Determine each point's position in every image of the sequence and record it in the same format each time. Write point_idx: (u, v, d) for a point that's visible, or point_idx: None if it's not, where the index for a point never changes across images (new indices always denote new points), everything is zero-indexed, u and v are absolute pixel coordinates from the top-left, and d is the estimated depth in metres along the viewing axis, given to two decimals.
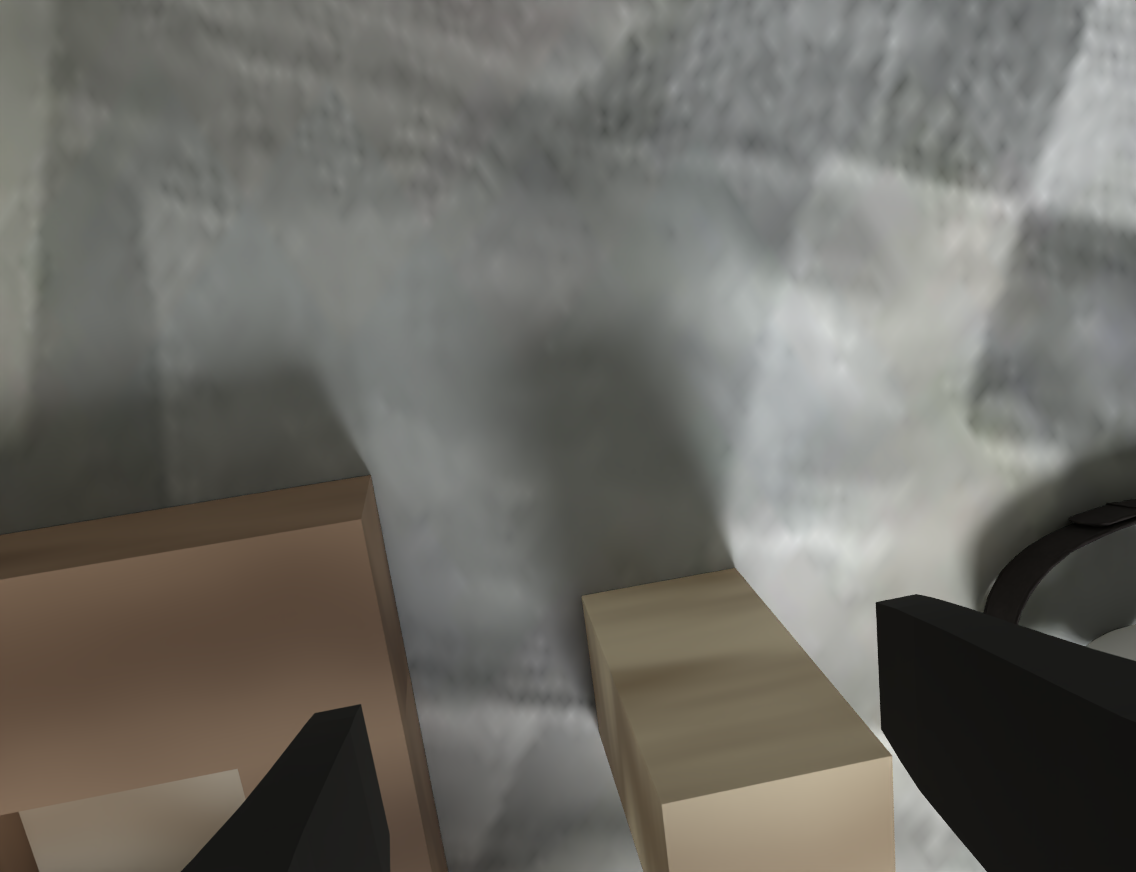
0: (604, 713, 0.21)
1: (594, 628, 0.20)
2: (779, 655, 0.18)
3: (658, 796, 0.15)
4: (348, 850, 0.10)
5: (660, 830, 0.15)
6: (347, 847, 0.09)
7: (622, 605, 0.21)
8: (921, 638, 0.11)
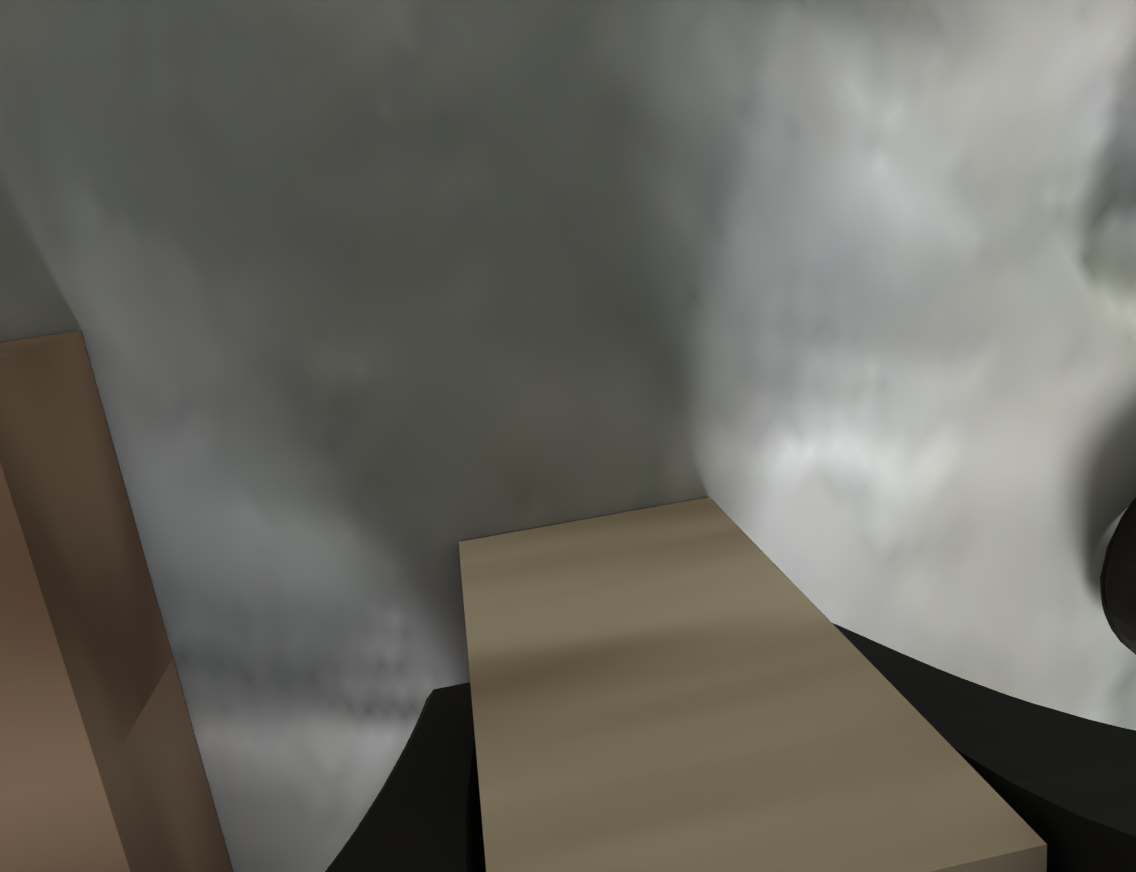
0: None
1: (463, 589, 0.12)
2: (781, 627, 0.10)
3: None
4: None
5: None
6: None
7: (519, 554, 0.13)
8: None
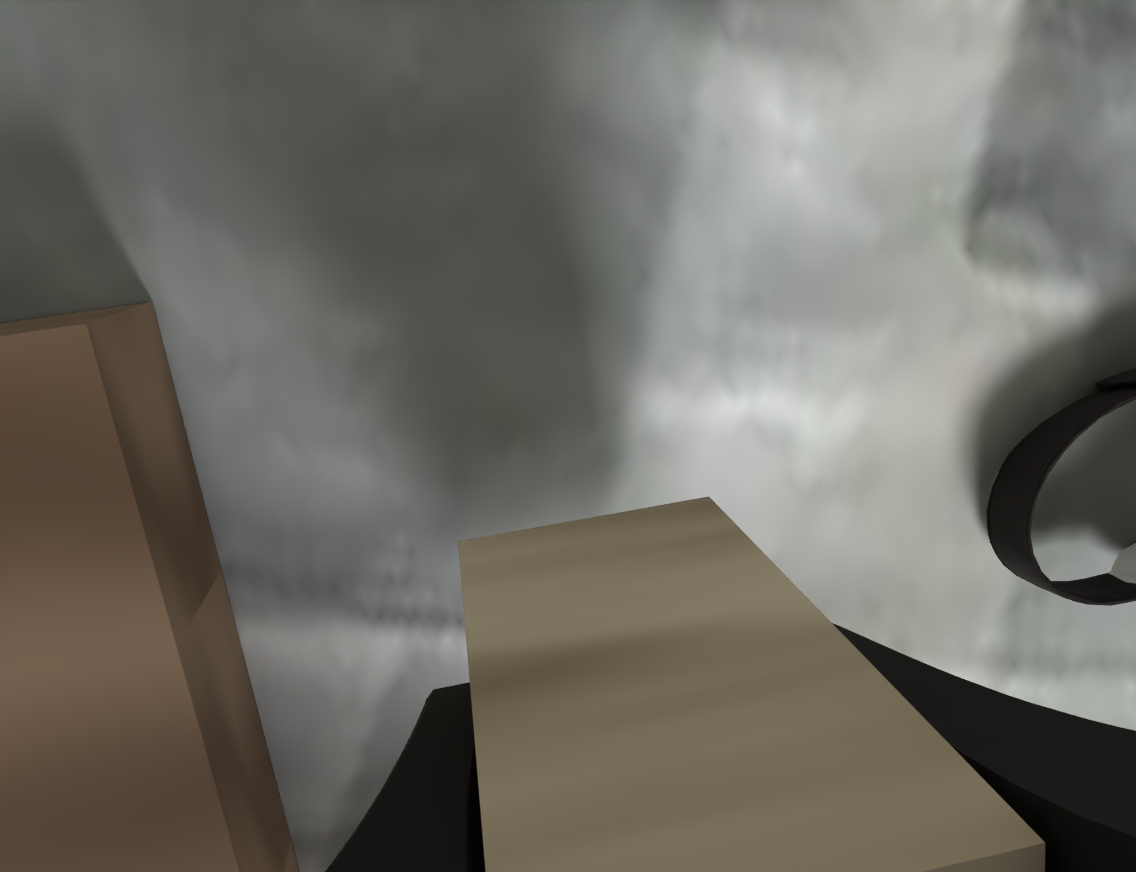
0: None
1: (463, 589, 0.12)
2: (780, 627, 0.10)
3: None
4: None
5: None
6: None
7: (519, 554, 0.13)
8: None
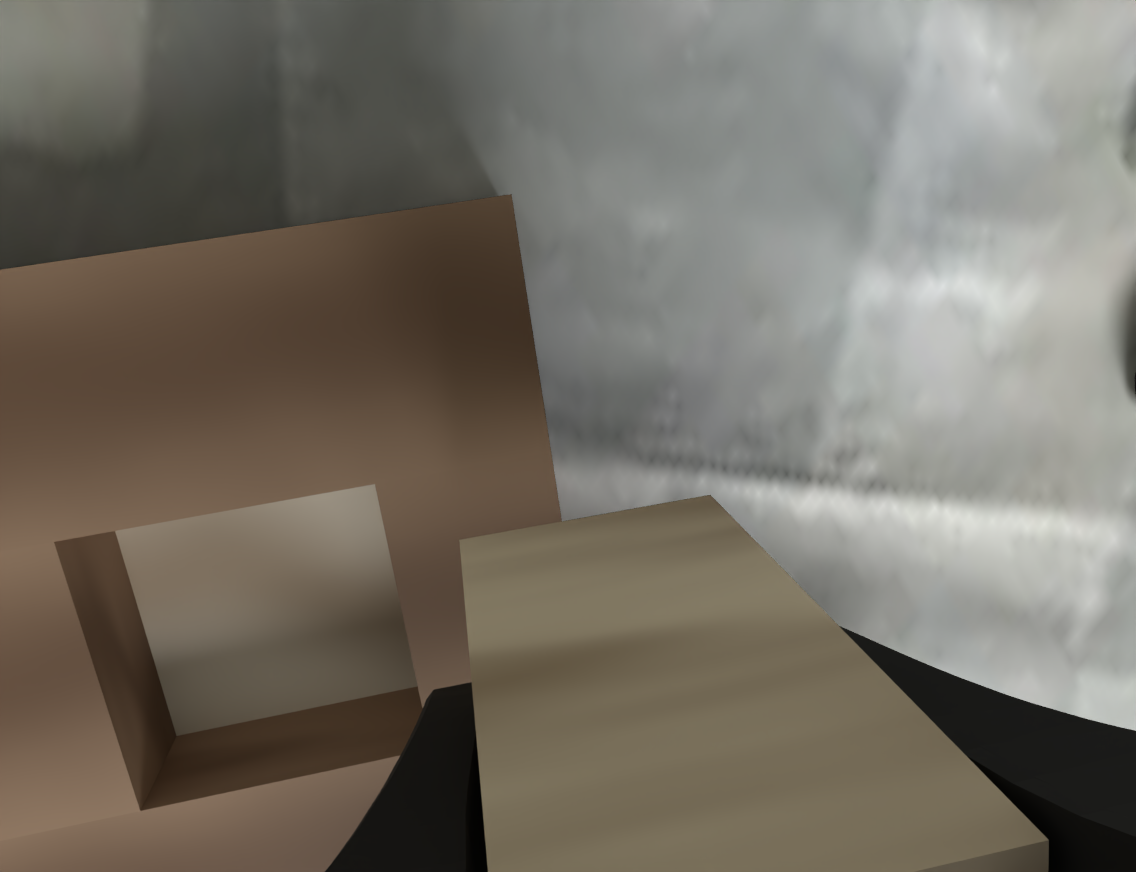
0: None
1: (464, 587, 0.12)
2: (782, 625, 0.10)
3: None
4: None
5: None
6: None
7: (520, 553, 0.13)
8: None
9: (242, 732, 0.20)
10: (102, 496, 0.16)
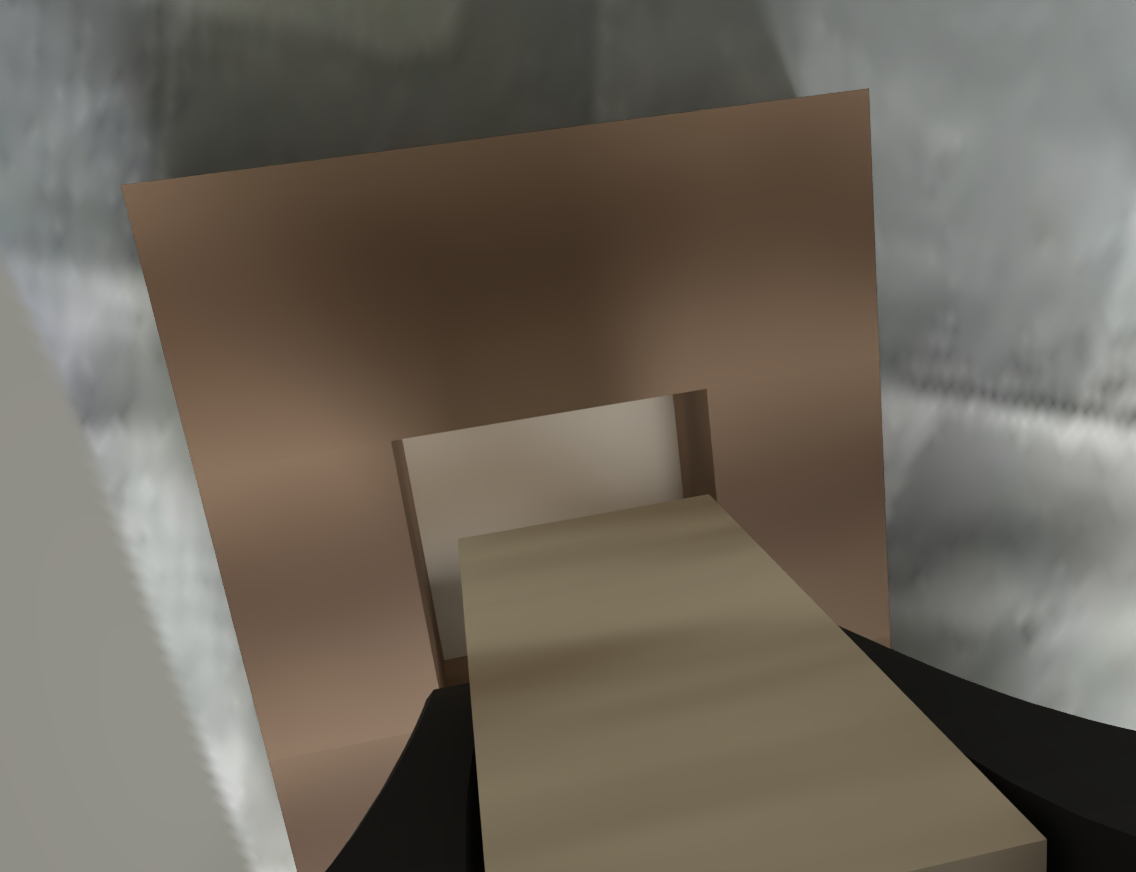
0: None
1: (463, 586, 0.12)
2: (780, 624, 0.10)
3: None
4: None
5: None
6: None
7: (518, 551, 0.13)
8: None
9: None
10: (442, 394, 0.16)
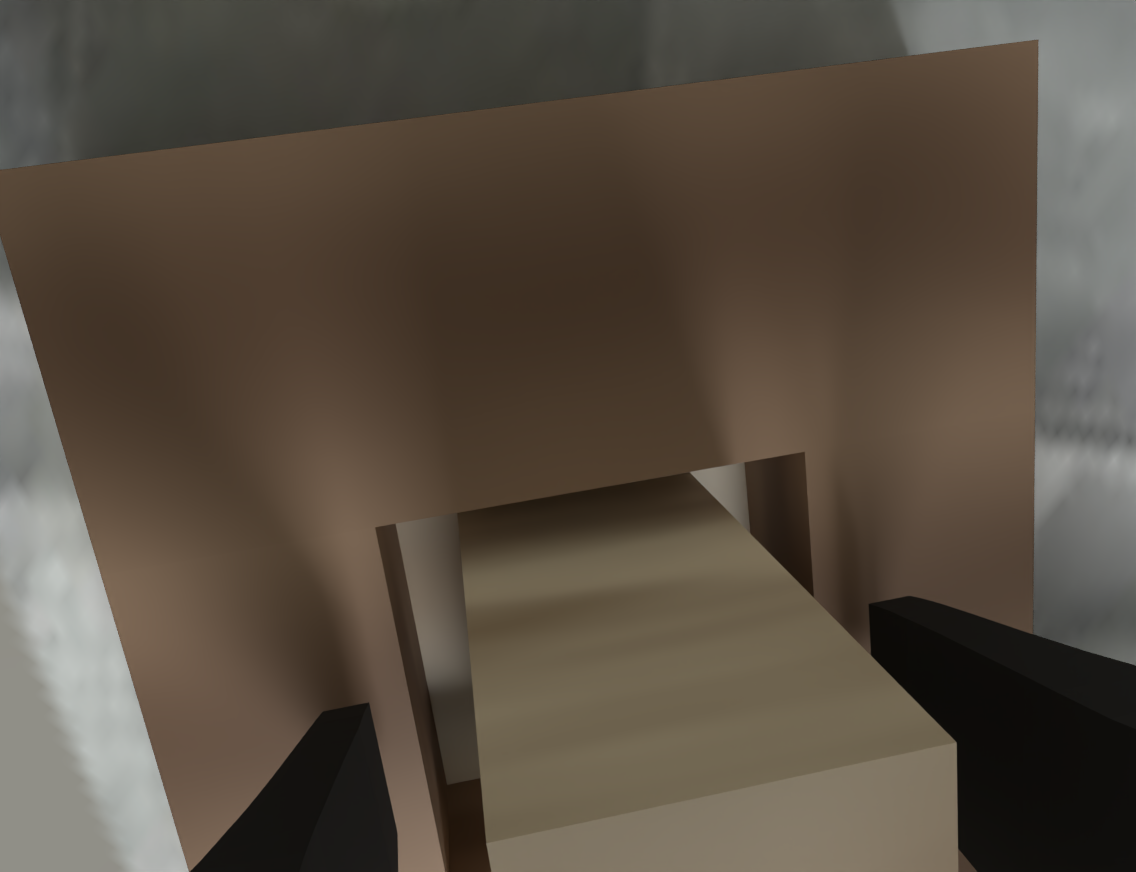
0: None
1: (461, 552, 0.13)
2: (746, 580, 0.11)
3: None
4: (357, 848, 0.10)
5: None
6: (356, 845, 0.10)
7: (512, 522, 0.14)
8: (913, 640, 0.11)
9: None
10: (445, 463, 0.12)
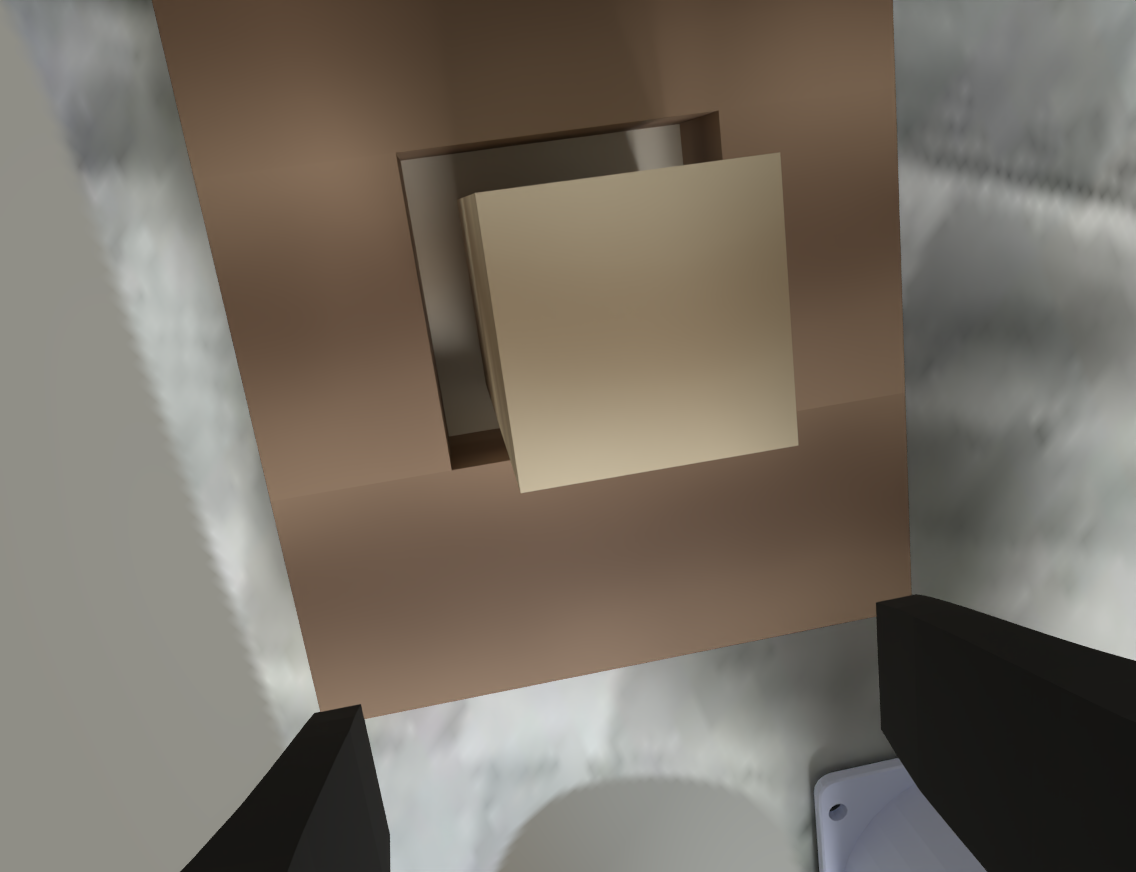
0: (478, 318, 0.18)
1: (460, 200, 0.17)
2: None
3: (474, 195, 0.11)
4: (348, 850, 0.10)
5: (483, 258, 0.12)
6: (347, 847, 0.09)
7: None
8: (921, 638, 0.11)
9: None
10: (448, 103, 0.16)
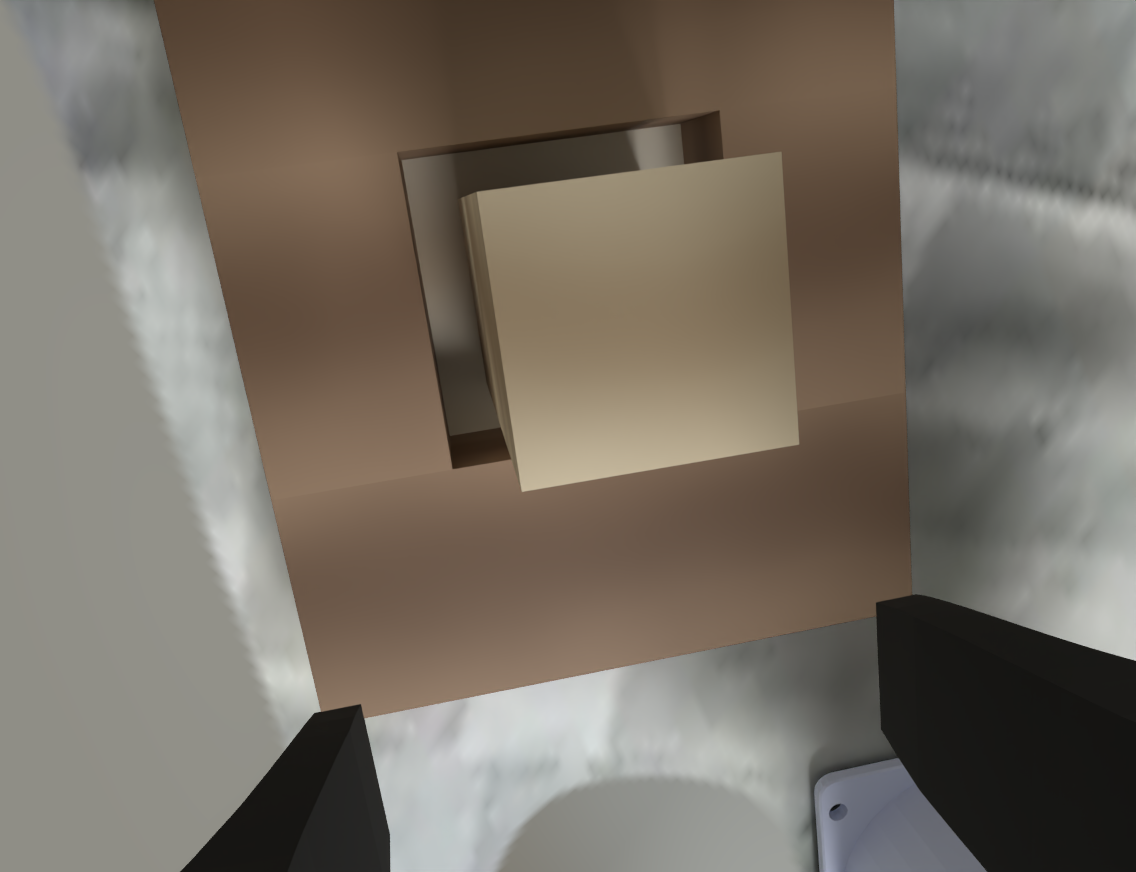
0: (479, 317, 0.18)
1: (461, 199, 0.17)
2: None
3: (476, 194, 0.11)
4: (348, 850, 0.10)
5: (484, 257, 0.12)
6: (347, 847, 0.09)
7: None
8: (921, 638, 0.11)
9: None
10: (449, 102, 0.16)
